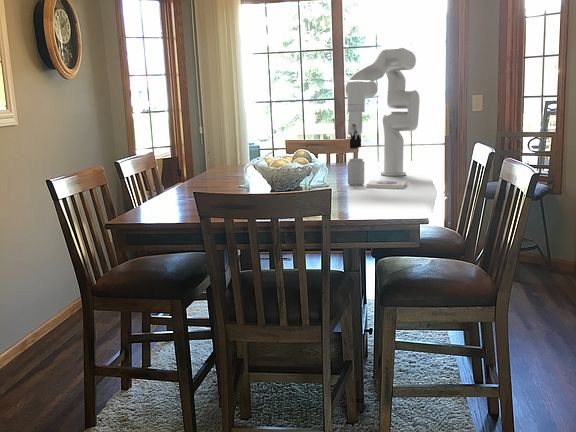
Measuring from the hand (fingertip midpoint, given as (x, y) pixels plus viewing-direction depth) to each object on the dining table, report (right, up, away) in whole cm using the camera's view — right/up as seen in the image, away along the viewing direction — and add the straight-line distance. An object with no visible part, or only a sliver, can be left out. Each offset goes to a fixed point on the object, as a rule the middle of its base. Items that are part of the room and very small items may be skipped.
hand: (355, 147), depth 273 cm
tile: (+14, -17, -1) cm, 22 cm away
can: (+1, -17, +4) cm, 17 cm away
